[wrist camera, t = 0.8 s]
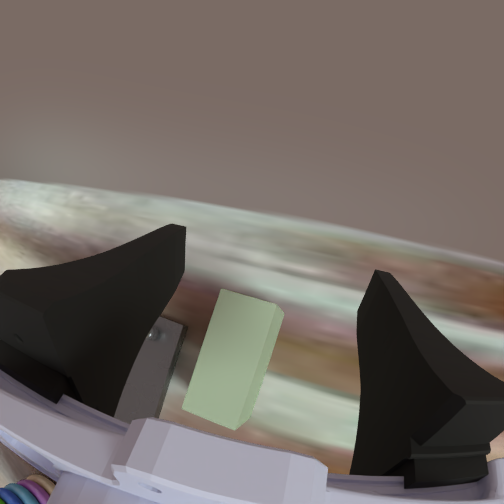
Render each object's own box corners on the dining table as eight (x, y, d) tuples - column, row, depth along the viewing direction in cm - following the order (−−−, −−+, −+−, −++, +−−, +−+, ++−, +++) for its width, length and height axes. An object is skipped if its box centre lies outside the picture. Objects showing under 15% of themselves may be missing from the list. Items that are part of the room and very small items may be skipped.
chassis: (140, 479, 23) (120, 489, 20) (48, 415, 27) (26, 417, 23) (187, 326, 27) (170, 322, 23) (83, 283, 30) (62, 275, 27)
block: (250, 417, 24) (234, 430, 19) (205, 400, 25) (181, 408, 20) (284, 313, 26) (276, 304, 21) (238, 300, 27) (221, 288, 22)
